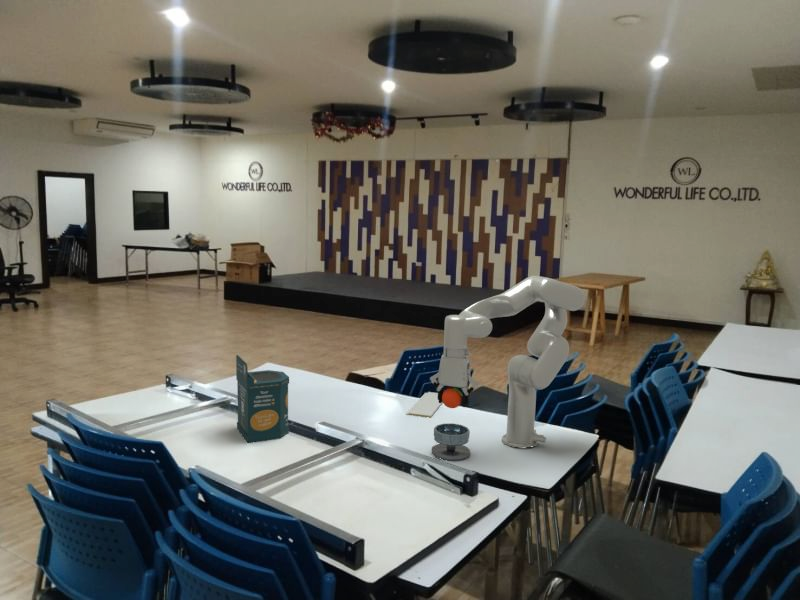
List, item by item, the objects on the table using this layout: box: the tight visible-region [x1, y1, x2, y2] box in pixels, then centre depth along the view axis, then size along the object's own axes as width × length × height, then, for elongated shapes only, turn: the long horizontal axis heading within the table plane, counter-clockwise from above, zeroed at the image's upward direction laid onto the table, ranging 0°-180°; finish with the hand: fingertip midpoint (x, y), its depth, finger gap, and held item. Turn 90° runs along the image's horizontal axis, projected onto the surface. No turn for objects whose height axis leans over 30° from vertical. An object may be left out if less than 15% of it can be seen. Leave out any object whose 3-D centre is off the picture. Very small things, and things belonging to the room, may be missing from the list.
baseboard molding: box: [405, 389, 444, 419], centre depth 259 cm, size 31×3×12 cm
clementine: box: [442, 386, 464, 409], centre depth 205 cm, size 8×7×7 cm
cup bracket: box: [431, 422, 471, 462], centre depth 207 cm, size 13×13×8 cm
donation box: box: [235, 354, 290, 444], centre depth 220 cm, size 16×16×28 cm
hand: (452, 403), depth 205 cm, fingers closed on clementine, 7 cm apart
